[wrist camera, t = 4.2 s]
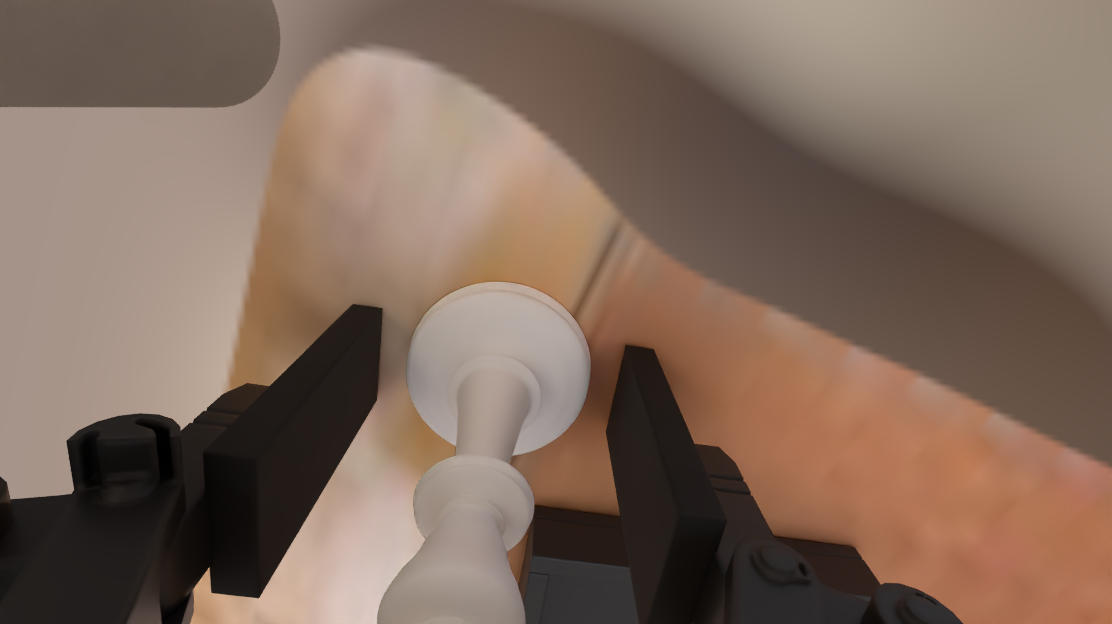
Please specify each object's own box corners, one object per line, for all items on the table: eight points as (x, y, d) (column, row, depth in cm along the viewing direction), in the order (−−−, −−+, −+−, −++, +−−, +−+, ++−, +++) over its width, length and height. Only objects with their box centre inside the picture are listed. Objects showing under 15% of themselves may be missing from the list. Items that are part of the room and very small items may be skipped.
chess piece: (477, 242, 14) (324, 529, 4) (627, 352, 15) (763, 770, 5) (374, 382, 15) (84, 834, 6) (518, 474, 16) (477, 979, 7)
